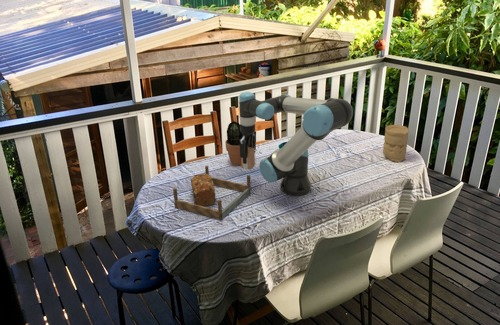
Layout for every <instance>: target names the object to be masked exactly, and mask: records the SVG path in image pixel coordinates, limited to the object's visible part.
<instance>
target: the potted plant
mask: <svg viewBox="0 0 500 325" xmlns="http://www.w3.org/2000/svg"><path fill="white" fill-rule="evenodd" d="M242 135H243V134H242V132H240V122H237V121H235V120H233V121H231V122H230V123H229V124H228V125H227V129H226V138H227V139H226V140H225V150H226V152H227V154H228V158H229V161H230V164H231V165H232V166H236V167H237V166H239V167H241V166H242V163H241V157H240V143H239V140H240V139H242ZM246 143H247V142H246Z"/></svg>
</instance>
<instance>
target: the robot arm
mask: <svg viewBox="0 0 500 325" xmlns="http://www.w3.org/2000/svg"><path fill="white" fill-rule="evenodd" d="M238 99H239V100H238V103H239V106H238V108H239V109H238V110H239V124H240V132H242V134H243V135H242V139H240V140H239V143H240V157H241V158H243V168H242V169H244V170H249V169H248V157H247V154H248V147H251V148H255V153H256V150H257V145H256V144H257V142H256V141H257V139H256V138H257V136H256V135H257V131H256V118H259V119H261V120H266V121H267V120H271V118H273V116H274V115H276V114H279V113H286V114H288V113H289V114H295V115H303V116H302V119H303V120H302V122H301V127H300V128H299V129H298V130H297V131H296V132H295V134H293V135H292V136H291V137H290V139H289V140H288V141H287V142H286V143H285V144H284V145H283V146H282V147H281V148H278V149H276V150H274V151H273V152H272V153H271V154H270V155H269V156H268V157H264V158H263V159H261V160H260V162H259V164H258V166H259V172H260V174H261V176H262V177H263V179H264V180H265V181H266V182H268V183H274V182H277V181H279V180H281V181H280V182H281V183H280V191H281V192H283V194H285V195H288V196H293V197H294V196H296V197H298V196H304V195H307V194H309V192H310V191H311V183H310V178H309V176H308V174H309V172H308V170H309V169H308V168H309V150H308V149H310V147H312V146H313V144H315V143H316V142H317V141H322V140H324V139H325V138H326V137H327V136H328V135H329V134H331V132H333V131H335V130H338V129H340V128H343V127H345V126H348V124H349V123H350V122H351V120H352V119H353V116H354V111H353V110H354V109H353V106H352V105H351V103H350V102H349V101H348V100H347V99H344V98H336V97H330V98H328V99H319V98H307V97H306V98H304V97H293V96H291V95H289V94H281V95H278V96H276V97H272V98H268V99H264V100H258V99H256V96H255V93H253V92H251V91H244V92H242V93H240V94H239V98H238ZM246 142H247V143H246Z"/></svg>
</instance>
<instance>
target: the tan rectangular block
mask: <svg viewBox="0 0 500 325" xmlns="http://www.w3.org/2000/svg"><path fill="white" fill-rule="evenodd" d="M255 151H256V150H255V148H251V147H248V154H247V157H248V169H247V170H252V169H253V168H254V167H255V166H256V163H255V161H256V160H255V159H256V158H255V157H256V156H255V155H256V152H255ZM241 163H242V165H241V169H243V158H241Z"/></svg>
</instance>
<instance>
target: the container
mask: <svg viewBox="0 0 500 325" xmlns="http://www.w3.org/2000/svg"><path fill="white" fill-rule="evenodd" d="M409 132H410V130H409V129H408V127H407V126H405V125H402V124H401V125H400V124H390V125H387V126H385V130H384V141H383V149H382V154H383V155H384V156H385V157H386V158H387V159H388V160H389V161H391V162H395V163H401V162H402V161H404V160H406V156H407V148H408V142H409V141H408V140H409Z"/></svg>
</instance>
